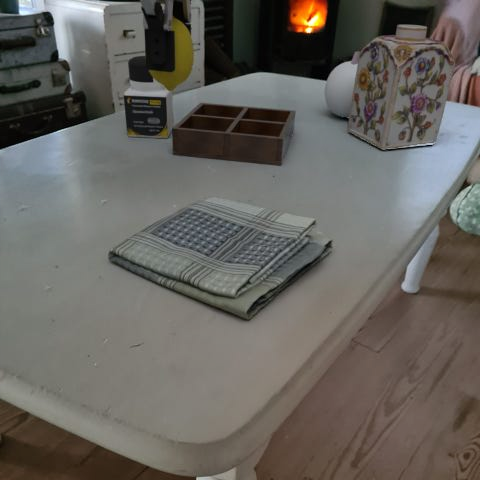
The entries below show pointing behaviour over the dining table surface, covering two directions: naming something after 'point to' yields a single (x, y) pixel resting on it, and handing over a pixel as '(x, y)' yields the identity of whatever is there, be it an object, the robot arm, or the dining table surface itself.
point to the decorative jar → (401, 89)
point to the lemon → (178, 58)
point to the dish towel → (224, 253)
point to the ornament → (341, 87)
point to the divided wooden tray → (234, 133)
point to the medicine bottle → (147, 103)
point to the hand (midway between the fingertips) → (169, 63)
